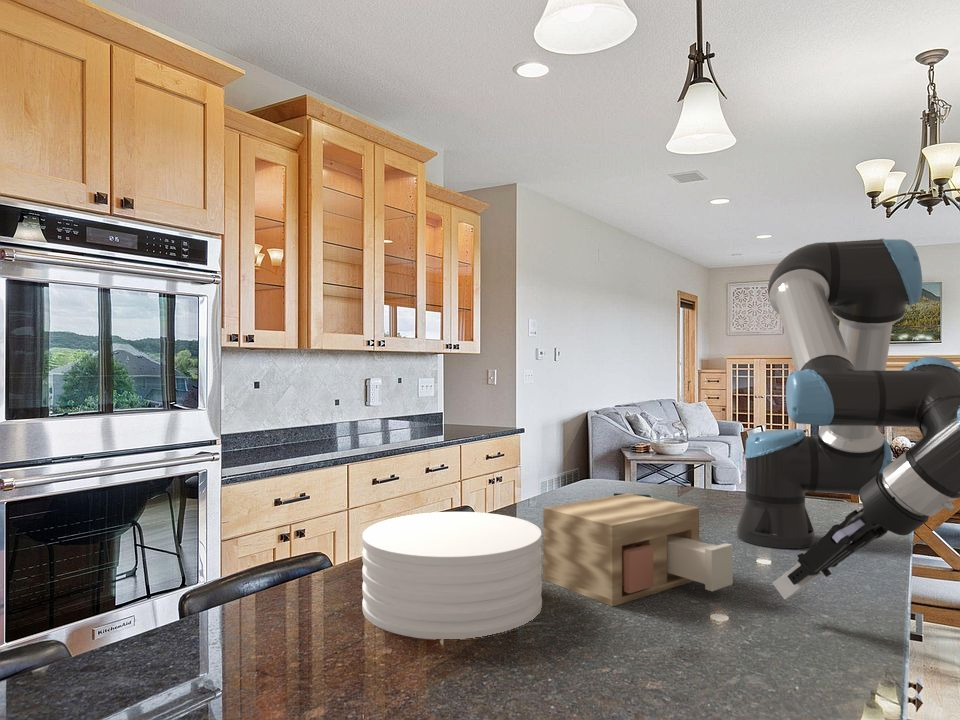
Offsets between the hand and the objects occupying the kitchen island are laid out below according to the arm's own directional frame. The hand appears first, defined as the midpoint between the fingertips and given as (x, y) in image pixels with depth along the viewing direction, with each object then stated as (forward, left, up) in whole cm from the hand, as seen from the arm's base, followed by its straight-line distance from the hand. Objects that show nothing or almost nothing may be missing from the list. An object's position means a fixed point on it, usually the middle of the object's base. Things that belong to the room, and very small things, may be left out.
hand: (781, 590), depth 98 cm
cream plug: (+9, -16, -2) cm, 19 cm away
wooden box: (+18, -20, -4) cm, 27 cm away
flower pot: (+7, -46, -4) cm, 47 cm away
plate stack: (+48, -12, -5) cm, 49 cm away
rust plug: (+22, -16, -2) cm, 28 cm away
